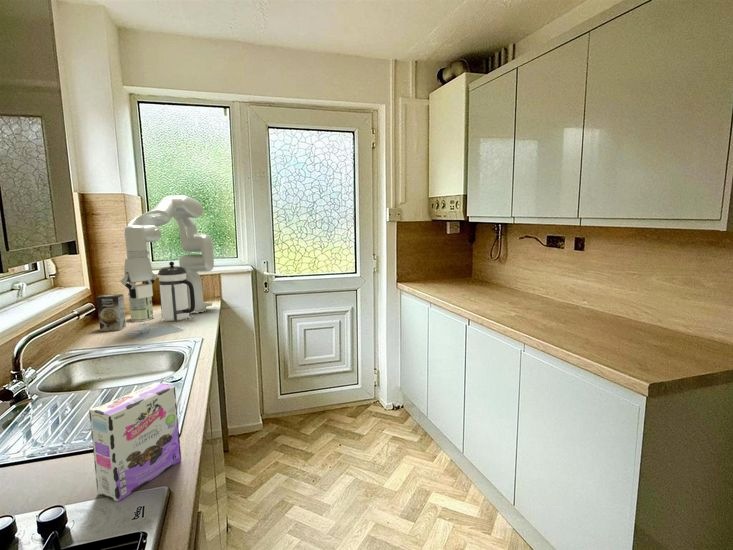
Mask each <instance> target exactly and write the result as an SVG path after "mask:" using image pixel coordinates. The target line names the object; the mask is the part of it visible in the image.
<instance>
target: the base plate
mask: <svg viewBox="0 0 733 550" xmlns="http://www.w3.org/2000/svg"><path fill="white" fill-rule="evenodd" d="M184 331H186V330H185V329H182V328H180V327H178V326H175V325H173V324H165V325H160V326H155V327H151V328H150V327H149V332H148V333H144V334H141V333H140V332H139V330H135V331H130V332H126V333H125V335H127V336H128V337H130V338H133V339H135V340H137V341H142V340H143V341H144V340H147V339H151V338H157V337H161V336H165V335H171V334H175V333H179V332H184Z"/></svg>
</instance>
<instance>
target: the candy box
mask: <svg viewBox="0 0 733 550" xmlns="http://www.w3.org/2000/svg"><path fill="white" fill-rule="evenodd" d="M176 396H177V395H176V386H175V385H170V384H167V383H166V384H165V383H161V382H156V381H155V382H153V383H152V384H149V385H148V386H145V387H142V388H139V389H137V390H135V391H132V392H130V393H127V394H125V395H123V396H121V397H118V398H116V399H113V400H111V401H110V400H109V402H106V403H104V404H100V405H99V406H96V407H92V408H90V409H89V410H88V414H89V422H90V430H91V431H90V432H91V441H92V450H93V451H92V452H93V460H94V470H95V480H96V490H97V492H96V493H97V494H99V495H101V496H104V497H106V498H108V499H109V500H112V501H114V502H120V501H121V500H123V499H124V498H126V497H127V496H130V495H131V493H133V492H135V491H137V490H139V489H140V488H141V487H143V486H144V485H147V483H149V482H150V481H152V480H153V479H155V478H157V477H159V476H161V474H163V473H164V472H166V471H168V470H169V469H171V468H173V467H174V465H176V464H178V463H179V462H182V452H181V441H180V432H179V431H180V430H179V429H180V428H179V418H178V417H179V416H178V404H177V397H176Z"/></svg>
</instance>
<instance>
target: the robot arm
mask: <svg viewBox="0 0 733 550" xmlns="http://www.w3.org/2000/svg"><path fill="white" fill-rule="evenodd" d="M203 214H204V207H203V204H202V203H201V202H200V201H199V200H196V199H195V198H193V197H190V196H188V195H182V194H181V195H180V194H179V195H166V196H164V197H162V198H161V199H160V201H159V202H158V203H157V204H156V205H155V207H153V209H151V210H149V211H147V212H144V213H143V214H140V215H138V216H136V217H135V218H133V219H132V220H131V221H130V222H129V223H128V225H126V227H125V228H124V237H125V238H124V240H125V249H126V250H125V251H126V258H125V259H124V266H123V268H124V272H123V273H124V276H123V278H122V279H121V280H120V283H121V284H122V285H124V287H126V288H127V290H128V293H129V294H130V298H134V299H135V298H136V290H135V289H134V287H135V285H137V284H136V283H141V282H144V284H151V285H152V286H153V285H154V283H155V281H156V279H157V278H158V276H157V275H156V274H155V273H154V272H153V268H152V263H151V261H150V258H149V257H148V256H149V255H150V251H148V249H147V243H155V242H157V241H159V240H160V239H161V237H162V232H161V229H160V228H159V227H162V226H164V225H166V224H168V223H169V222H170V220H172V218H173V219H174V220H175V221H176V223H177V225H178V229H179V238H180V241H179V242H180V247H181V248H180V249H182V251H183V252H187V254H183V255H182V256H181V257H180V258H179V260H178V261H179V262H178V263H179V265H178V266H180V267H183V268H184V269H185V270H186V271H187V273H186V278H187V281H190V282H191V283H192V285H193V288H194V296H195V309H194V311H193V312H190V315H193V314H192V313H196V314H200V313H199V312H202V313H205V312H207V311H208V309H207V307H212V306H213V303H212V301H211V302H205V301H204V296H203V295H204V291H203V280H202V278H201V276H200V274H199V273H205V272H211V271H212V270H213V269H214V268H215V267H214V265H215V264H214V263H215V261H214V259H215V258H214V247H213V246H214V244H213V240H212V237H211V236H210V235H209V234H205V233H198V230H197V223H196V222H195V220H194V219H198V218H200V217H202V216H203ZM191 252H192V254H191ZM193 252H195V253H194V254H193ZM188 253H189V254H188ZM196 253H197V254H196ZM199 253H200V254H199ZM187 287H188V292H187V293H188V299H189V304H188V306H189V309H190V308H191V300H190V289H189V286H188V285H187ZM206 310H207V311H206ZM204 311H205V312H204Z"/></svg>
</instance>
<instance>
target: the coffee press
mask: <svg viewBox="0 0 733 550" xmlns="http://www.w3.org/2000/svg"><path fill="white" fill-rule="evenodd" d="M168 265H169V266H165V267H162V268H160V269H159V271H158V272H157V275H158V288H159V297H160V298H159V299H160V309H161V310H160V311H161V318H160V320H162V319H163V322H165V321H167V322H178V321H182V320H186V319H187V320H190V318H189V316H190V317H191V319H193V316H192V314H190V312H193V311H194V309H195V296H194V288H193V285H192V283H191V282H190V281H187V278H186V273H187V271H186V270H185V269H184V268H183V267H180V265H178V266H177V265H175V262H174V261H170V262H169V263H168ZM187 285H188V286H189V289H190V300H191V308H190V309H189V306H188V304H189V299H188V293H187V292H188V287H187Z"/></svg>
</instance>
